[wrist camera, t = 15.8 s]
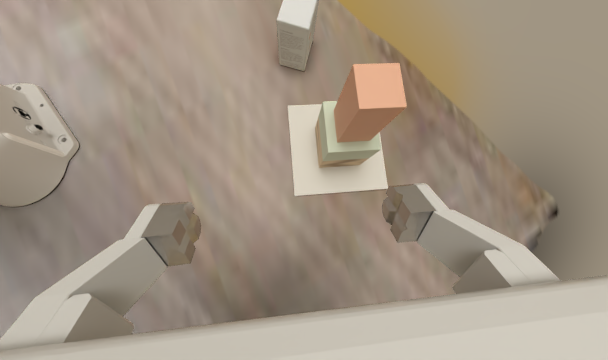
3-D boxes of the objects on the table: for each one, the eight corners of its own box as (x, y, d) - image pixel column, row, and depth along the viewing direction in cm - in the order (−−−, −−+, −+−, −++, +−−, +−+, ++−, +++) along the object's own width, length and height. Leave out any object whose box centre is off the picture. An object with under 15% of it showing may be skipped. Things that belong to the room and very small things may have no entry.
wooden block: (318, 167, 41) (322, 161, 36) (314, 128, 42) (318, 116, 37) (359, 165, 41) (368, 158, 36) (354, 126, 43) (362, 114, 38)
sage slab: (322, 161, 36) (328, 152, 31) (318, 116, 37) (322, 101, 32) (368, 158, 36) (381, 149, 32) (362, 114, 38) (374, 99, 33)
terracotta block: (337, 142, 31) (359, 108, 21) (333, 110, 32) (353, 64, 22) (370, 140, 32) (406, 106, 22) (365, 109, 32) (399, 63, 23)
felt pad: (294, 196, 40) (294, 195, 40) (287, 106, 43) (287, 105, 42) (386, 188, 41) (387, 188, 41) (374, 103, 44) (375, 101, 44)
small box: (288, 33, 46) (288, -21, 35) (313, 40, 46) (321, -11, 35) (278, 65, 44) (275, 19, 34) (304, 72, 44) (309, 29, 34)
